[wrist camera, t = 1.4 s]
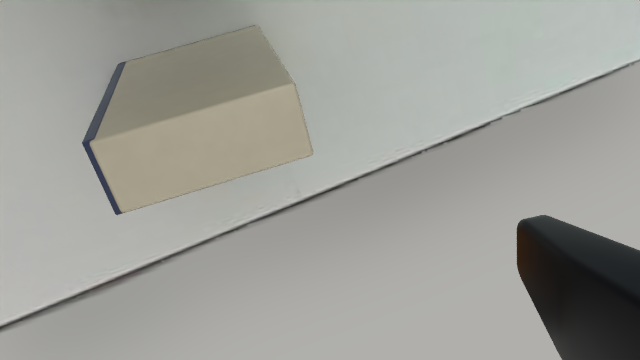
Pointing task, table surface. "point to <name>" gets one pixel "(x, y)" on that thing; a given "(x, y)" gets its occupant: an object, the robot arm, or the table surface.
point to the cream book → (195, 120)
